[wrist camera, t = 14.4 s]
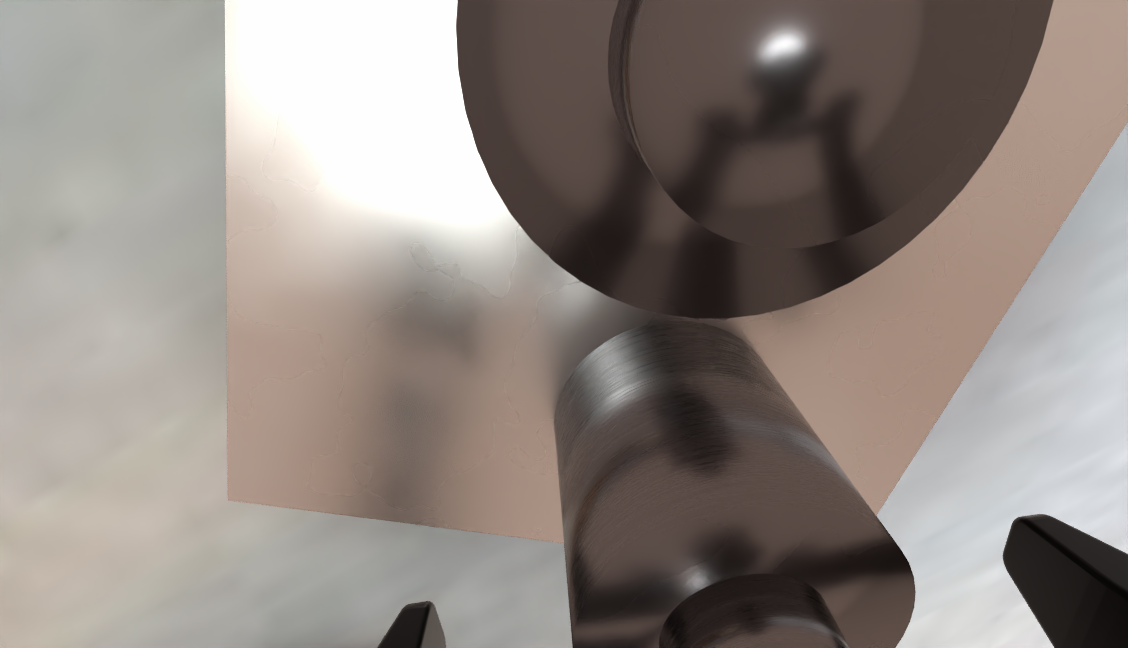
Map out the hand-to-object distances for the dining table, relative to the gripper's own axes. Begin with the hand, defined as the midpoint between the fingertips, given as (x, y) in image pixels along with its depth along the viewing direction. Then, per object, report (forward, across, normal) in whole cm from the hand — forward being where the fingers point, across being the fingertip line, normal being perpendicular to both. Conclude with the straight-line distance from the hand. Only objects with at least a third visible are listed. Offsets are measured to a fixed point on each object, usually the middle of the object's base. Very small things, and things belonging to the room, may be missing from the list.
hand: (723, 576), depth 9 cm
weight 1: (+4, 0, -8) cm, 8 cm away
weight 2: (+4, 0, 0) cm, 4 cm away
